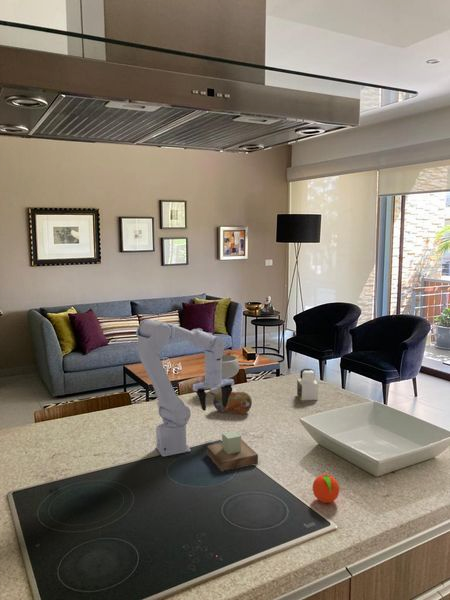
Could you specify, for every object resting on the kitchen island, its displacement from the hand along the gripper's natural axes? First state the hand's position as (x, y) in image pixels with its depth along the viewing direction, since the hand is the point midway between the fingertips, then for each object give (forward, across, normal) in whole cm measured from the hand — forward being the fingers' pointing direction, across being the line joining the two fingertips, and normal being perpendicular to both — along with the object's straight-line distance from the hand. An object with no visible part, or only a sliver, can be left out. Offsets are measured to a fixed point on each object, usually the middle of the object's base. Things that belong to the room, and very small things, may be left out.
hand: (214, 407), depth 172 cm
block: (+6, -2, -20) cm, 21 cm away
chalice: (+10, +20, +40) cm, 46 cm away
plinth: (+9, -2, -20) cm, 22 cm away
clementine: (+10, +11, -52) cm, 54 cm away
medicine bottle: (+10, +49, +18) cm, 53 cm away
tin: (+10, +14, +16) cm, 23 cm away
